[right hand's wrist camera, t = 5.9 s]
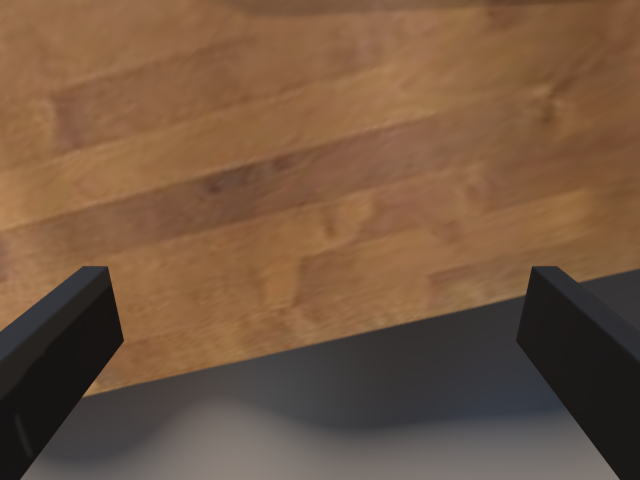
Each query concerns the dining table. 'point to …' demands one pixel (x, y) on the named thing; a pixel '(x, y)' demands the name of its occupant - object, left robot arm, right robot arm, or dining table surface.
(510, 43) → the dining table surface
